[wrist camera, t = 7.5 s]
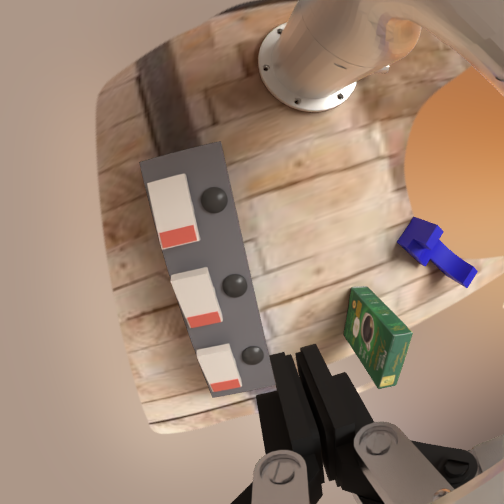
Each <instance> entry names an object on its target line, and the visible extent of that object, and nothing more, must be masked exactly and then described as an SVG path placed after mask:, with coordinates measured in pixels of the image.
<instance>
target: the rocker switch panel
mask: <svg viewBox="0 0 504 504" xmlns="http://www.w3.org/2000/svg"><path fill="white" fill-rule="evenodd" d="M139 163H140V167H141V172H142V176H143V180H144V184H145V188H146V193H147V197H148V201H149V204H150V208H151V212H152V216H153V220H154V223H155V219H154V214H153V210H152V205H151V200H150V195H149V190H148V185H147V183H150V182H153V181H157V180H161V179H164V178H168V177H172V176H176V175H180V174H186V177H187V182H188V187H189V191H190V196H191V200H192V203H193V206H194V214H195V218H196V223H197V227H198V232H199V236H200V241H196V242H192V243H188V244H184V245H180V246H175V247H171V248H167V249H163V250H162V252H163V255H164V259H165V262H166V266H167V269H168V272H169V275H170V279H171V275H173V274H178V273H182V272H187V271H191V270H195V269H200V268H204V267H207V268H208V271H209V275H210V278H211V281H212V284H213V287H214V288H215V292H216V297H217V300H218V303H219V306H220V309H221V312H222V317H223V321H222V322H219V323H214V324H209V325H204V326H199V327H194V328H190V327H189V325H188V323H187V320H186V318H185V316H184V313H183V311H182V308H181V306H180V304H179V301H178V299H177V301H178V304H179V307H180V310H181V313H182V316H183V319H184V322H185V325H186V328H187V331H188V333H189V336H190V339H191V342H192V345H193V348H194V350H195V353H196V356H197V350H198V349H203V348H208V347H214V346H219V345H223V344H228V343H229V345H230V348H231V351H232V354H233V357H234V358H235V361H236V366H237V369H238V372H239V375H240V378H241V382H242V386H241V387H238V388H233V389H228V390H222V391H217V392H212V390H211V387H210V385H209V383H208V381H207V379H206V377H205V374H204V372H203V370H202V372H203V375H204V377H205V380H206V382H207V385H208V388H209V390H210V393H211V395H212V398H214V397H220V396H225V395H231V394H236V393H241V392H246V391H251V390H256V389H260V388H265V387H269V386H274V385H276V384H275V380H274V375H273V371H272V367H271V362H270V358H269V354H268V349H267V345H266V341H265V336H264V332H263V328H262V323H261V319H260V314H259V310H258V306H257V301H256V297H255V292H254V288H253V284H252V279H251V275H250V270H249V266H248V261H247V257H246V252H245V248H244V244H243V239H242V235H241V230H240V226H239V221H238V217H237V212H236V208H235V203H234V199H233V194H232V190H231V185H230V181H229V176H228V172H227V167H226V162H225V158H224V153H223V149H222V144H221V141H219V142H215V143H210V144H206V145H202V146H198V147H194V148H190V149H186V150H182V151H178V152H174V153H170V154H167V155H163V156H159V157H156V158H152V159H149V160H145V161H142V162H139ZM155 227H156V223H155ZM156 231H157V228H156ZM157 234H158V232H157ZM158 238H159V236H158ZM159 242H160V241H159ZM174 292H175V291H174ZM175 295H176V294H175ZM176 298H177V296H176ZM199 364H200V363H199ZM200 367H201V365H200ZM201 369H202V368H201Z"/></svg>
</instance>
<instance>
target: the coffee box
mask: <svg viewBox="0 0 504 504" xmlns="http://www.w3.org/2000/svg"><path fill="white" fill-rule="evenodd" d="M412 334H413V332H412V331H411V330H410V329H409V328H408V327H407V326H406V325H405V324H404V323H403V322H402V321H401V320H400V319H399V318H398V317H397V316H396V315H395V314H394V313H393V312H392V311H391V310H390V309H389V308H388V307H387V306H386V305H385V304H384V303H383V302H382V301H381V300H380V299H379V298H378V297H377V296H376V295H375V294H374V293H373V292H372V291H371V290H370V289H369V288H368V287H366V286H363V287H352V288H351V293H350V298H349V307H348V312H347V318H346V323H345V329H344V336H345V338H346V340H347V341H348V343H349V344H350V346H351V347H352V349H353V350H354V352H355V353H356V355H357V356H358V358H359V359H360V361H361V363H362V364H363V366H364V367H365V369H366V371H367V372H368V374H369V375H370V376H371V378H372V380H373V382H374V383H375V385H376V386H377V388H378V389H381V388H386V387H391V386H395V385H396V384H397V381H398V378H399V375H400V372H401V369H402V367H403V363H404V360H405V357H406V354H407V351H408V348H409V344H410V341H411V337H412Z"/></svg>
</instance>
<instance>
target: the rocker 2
mask: <svg viewBox="0 0 504 504" xmlns="http://www.w3.org/2000/svg"><path fill="white" fill-rule="evenodd" d="M171 284H172V286H173V289H174V291H175V294H176V296H177V299H178V301H179V304H180V306H181V308H182V311H183V313H184V316H185V318H186V320H187V323H188V325H189V327H190V328H194V327H199V326H204V325H209V324H214V323H219V322H222V321H223V317H222V312H221V309H220V306H219V303H218V300H217V297H216V292H215V288H214V287H213V284H212V281H211V278H210V275H209V271H208V268H207V267H204V268H200V269H195V270H191V271H187V272H182V273H178V274H173V275H171Z"/></svg>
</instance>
